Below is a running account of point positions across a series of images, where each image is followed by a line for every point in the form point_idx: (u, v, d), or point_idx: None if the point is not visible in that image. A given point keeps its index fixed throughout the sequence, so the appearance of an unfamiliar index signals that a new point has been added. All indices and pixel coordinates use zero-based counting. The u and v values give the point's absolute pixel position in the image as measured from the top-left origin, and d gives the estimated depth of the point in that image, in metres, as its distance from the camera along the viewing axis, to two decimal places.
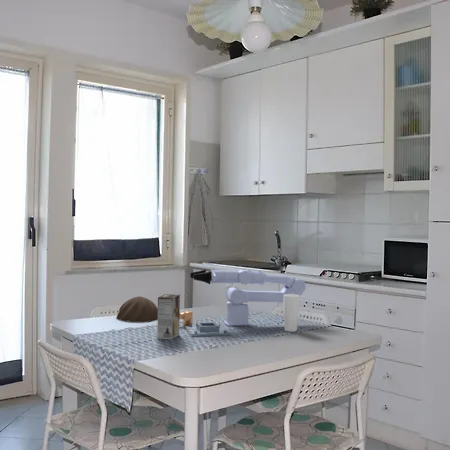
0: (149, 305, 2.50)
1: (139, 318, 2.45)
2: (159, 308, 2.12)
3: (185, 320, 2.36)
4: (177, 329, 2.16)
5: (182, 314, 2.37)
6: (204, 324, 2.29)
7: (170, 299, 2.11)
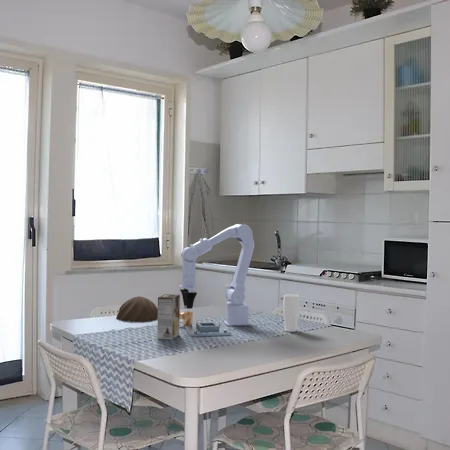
0: (149, 305, 2.50)
1: (139, 318, 2.45)
2: (159, 308, 2.12)
3: (185, 320, 2.36)
4: (177, 329, 2.16)
5: (182, 314, 2.37)
6: (204, 324, 2.29)
7: (170, 299, 2.11)
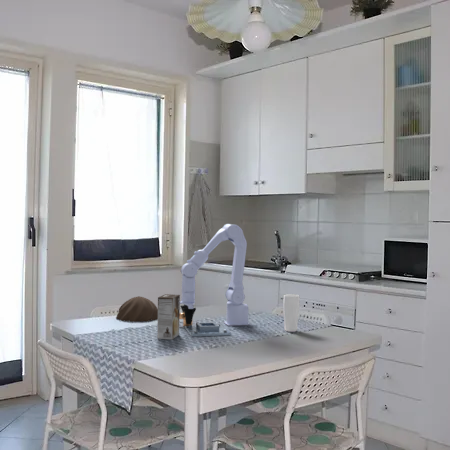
0: (149, 305, 2.51)
1: (140, 318, 2.46)
2: (159, 308, 2.12)
3: (185, 320, 2.36)
4: (177, 329, 2.16)
5: (182, 314, 2.37)
6: (204, 324, 2.29)
7: (170, 299, 2.11)
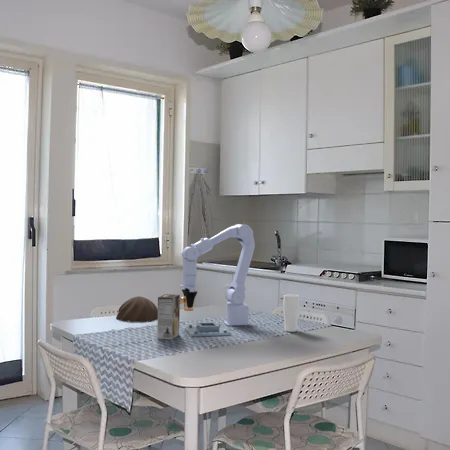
0: (149, 305, 2.51)
1: (140, 318, 2.46)
2: (159, 308, 2.12)
3: (186, 304, 2.36)
4: (177, 329, 2.16)
5: (183, 298, 2.36)
6: (204, 324, 2.29)
7: (170, 299, 2.11)
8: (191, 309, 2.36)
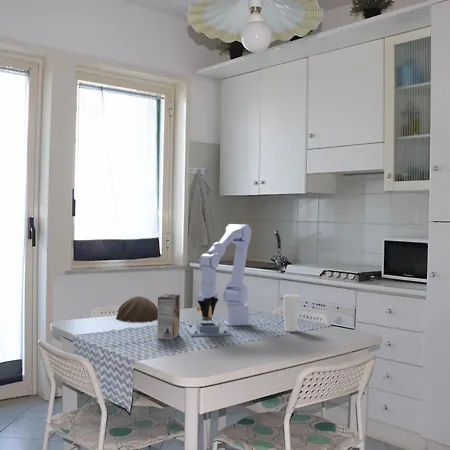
0: (149, 305, 2.51)
1: (140, 317, 2.46)
2: (159, 308, 2.12)
3: None
4: (177, 329, 2.16)
5: None
6: (204, 324, 2.29)
7: (170, 299, 2.11)
8: (206, 319, 2.25)
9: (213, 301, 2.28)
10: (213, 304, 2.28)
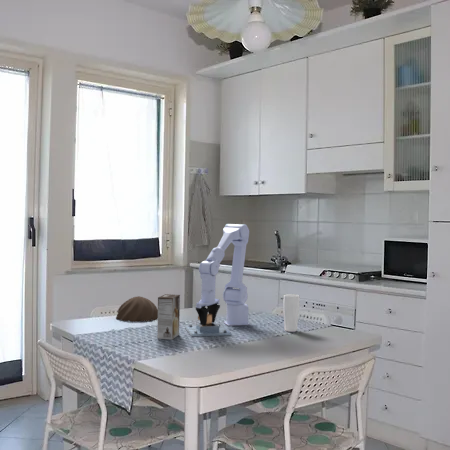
0: (149, 305, 2.51)
1: (140, 317, 2.46)
2: (159, 308, 2.12)
3: None
4: (177, 329, 2.16)
5: None
6: None
7: (170, 299, 2.11)
8: None
9: (215, 308, 2.28)
10: (215, 311, 2.28)
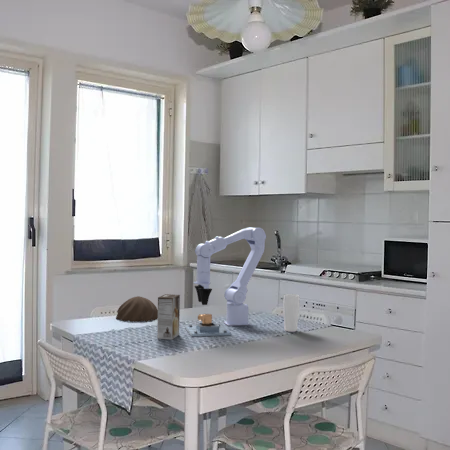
0: (149, 305, 2.51)
1: (140, 317, 2.46)
2: (159, 308, 2.12)
3: (202, 322, 2.27)
4: (177, 329, 2.16)
5: (200, 316, 2.28)
6: None
7: (170, 299, 2.11)
8: None
9: None
10: None
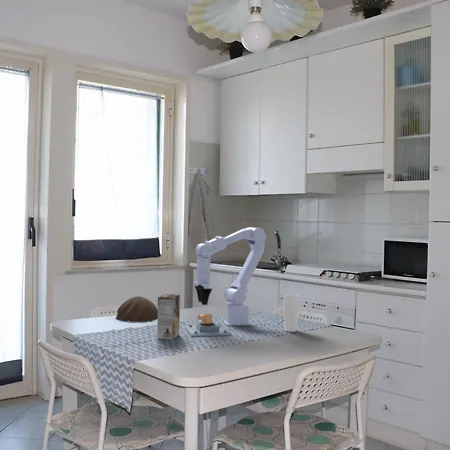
0: (149, 305, 2.51)
1: (140, 317, 2.46)
2: (159, 308, 2.12)
3: (202, 322, 2.27)
4: (177, 329, 2.16)
5: (200, 316, 2.28)
6: None
7: (170, 299, 2.11)
8: None
9: None
10: None
